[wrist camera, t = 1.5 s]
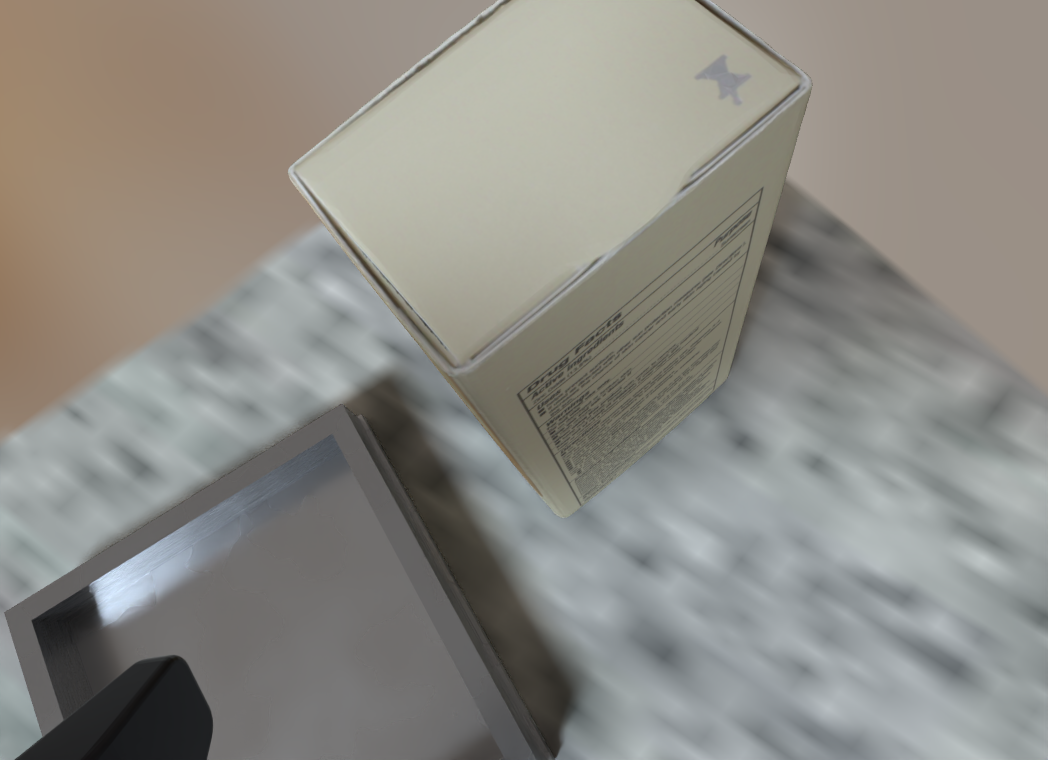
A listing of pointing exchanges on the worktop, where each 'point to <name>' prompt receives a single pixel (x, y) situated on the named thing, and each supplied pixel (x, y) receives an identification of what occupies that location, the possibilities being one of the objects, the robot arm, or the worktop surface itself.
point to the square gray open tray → (288, 616)
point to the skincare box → (570, 217)
